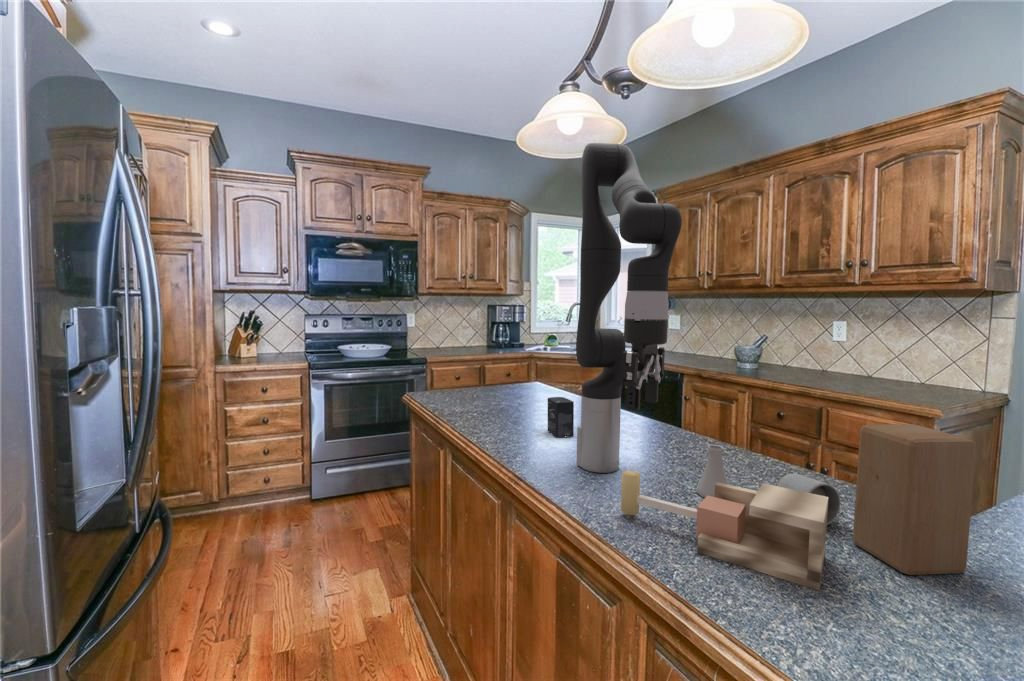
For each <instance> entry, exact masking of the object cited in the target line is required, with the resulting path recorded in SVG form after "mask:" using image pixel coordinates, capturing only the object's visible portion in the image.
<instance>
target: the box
mask: <svg viewBox="0 0 1024 681" xmlns="http://www.w3.org/2000/svg"><path fill="white" fill-rule="evenodd" d="M574 403H575V402H574V400H571V399H568V398H566V397H563V396H554V397H553V396H552V397H548V398H547V432H548V431H549V432H548V433H549V434H551V433H552V434H553V436H554V437H555V436H556V438H557V437H565V436H573V437H574V431H575V430H574V428H575V427H574V423H575V420H574V417H575V414H574V411H575V409H574V408H575V404H574ZM552 434H551V435H552ZM565 438H566V437H565Z"/></svg>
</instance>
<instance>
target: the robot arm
mask: <svg viewBox="0 0 1024 681" xmlns="http://www.w3.org/2000/svg"><path fill="white" fill-rule="evenodd" d="M581 157H582V158H581V164H580V166H581V169H580V173H581V175H580V176H581V198H582V199H581V200H582V202H581V203H582V204H581V205H582V218H581V219H582V223H581V240H580V241H581V242H580V243H581V244H580V264H579V266H580V284H579V286H580V287H579V288H580V291H579V292H580V293H579V294H580V295H579V310H578V320H577V329H576V342H575V353H576V361H577V363H578V365H579V366H580V367H581V368H590V369H591V368H595V369H596V368H603V370H602V372H601V373H600V374H599V375H597V376H596V377H594V378H592V379H589V380H587V381H585V382H584V383H583V384H582V386H581V404H580V406H581V408H580V409H581V410H580V414H581V415H580V425H578V426H577V429H576V430H577V432H576V435H577V436H576V463H575V464H576V467H577V466H578V467H580V468H582V469H583V470H586V471H589V472H593V473H598V474H599V473H606V474H607V473H614V472H617V471H618V470H619V468H620V443H621V441H620V438H621V411H622V410H621V408H622V407H621V406H622V401H621V399H622V390H623V387H625V389H626V406H625V407H626V410H628V411H633V412H637V411H639V410H640V408H641V391H642V390H641V388H642V384H643V381H644V380H645V381H646V382H645V390H644V391H645V396H644V400H645V402H646V403H651V404H652V403H653V404H655V403H657V402H658V401H659V384H660V383H661V380H662V379H663V378H664V377H665V351H666V350H665V349H666V348H665V347H662V346H661V347H660V345H665V344H667V343H668V329H669V328H668V325H669V305H670V304H669V293H668V291H669V271H670V265H671V261H672V258H673V255H674V251H675V248H676V244H677V242H678V239H679V235H680V233H681V229H682V221H683V219H682V215H681V212H680V210H679V208H678V207H677V206H676V205H674V204H672V203H663V202H662V203H661V202H660V203H659V202H658V203H657V199H656V196H655V195H654V193H653V192H652V190H651V189H650V188H649V187H648V186H647V184H646V183H645V182H644V180H643V178H642V176H641V173H640V171H639V166H638V164H637V161H636V158H635V156H634V153H633V151H632V150H631V148H630V147H629V146H627V145H625V144H622V143H603V142H591V143H588V144H586V145H585V146H584V149H583V152H582V156H581ZM599 187H607V188H608V187H609V188H610V187H612V190H611V200H612V203H613V206H614V208H615V210H616V211H617V213H618V214H619V226H618V228H619V229H618V230H619V235H620V236H621V238H622V239H623V240H624V241H626V242H627V243H630V244H635V245H636V244H638V245H654V249H653V250H652V253H650V255H646V256H642V257H641V256H640V257H635V258H633V259H632V260H630V261H629V262H628V266H627V280H626V281H627V283H626V284H627V285H626V297H625V302H624V322H623V323H624V324H623V326H624V327H623V331H621V329H618V328H596V326H597V318H598V314H599V310H600V309H601V306H602V304H603V302H604V300H605V299H606V297H607V296H608V294H609V293H610V291H611V290H612V288H613V287H614V285H615V283H616V282H617V280H618V278H619V275H620V273H621V269H622V268H621V267H622V266H621V264H622V261H621V260H622V242H621V239H620V236H619V235H618V233H617V231H616V229H615V227H614V226H613V224H612V222H611V220H610V219H609V217H608V216H607V214H606V212H605V209H604V208H603V205H602V202H601V197H600V192H599ZM626 344H631V350H630V351H627V349H626Z"/></svg>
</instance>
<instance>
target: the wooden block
mask: <svg viewBox="0 0 1024 681" xmlns="http://www.w3.org/2000/svg"><path fill="white" fill-rule="evenodd" d="M976 444H977V443H976V442H975V441H974V440H972V439H970V438H967V437H964V436H960V435H957V434H953V433H949V432H945V431H942V430H937V429H935V428H930V427H925V426H922V425H918V424H916V423H915V424H913V423H912V424H906V423H905V424H864V425H863V426H861V427H860V430H859V441H858V454H857V473H856V484H855V485H856V486H855V502H854V518H853V533H852V540H853V542H854V543H855V545H856V546H858V547H859V548H861V549H862V550H865V552H867V553H869V554H871V555H873V556H874V557H875V558H877V559H879V560H881V561H882V562H884V563H886V564H888V565H889V566H890V567H892V568H894V569H895V570H897V571H899V572H900V573H902V574H905V575H908V576H914V575H915V576H916V575H917V576H918V575H939V574H940V575H943V574H962V573H964V572H965V570H966V569H967V562H968V549H969V539H970V537H969V536H970V526H971V513H972V501H973V491H974V478H975V466H976V454H977V445H976Z"/></svg>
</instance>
